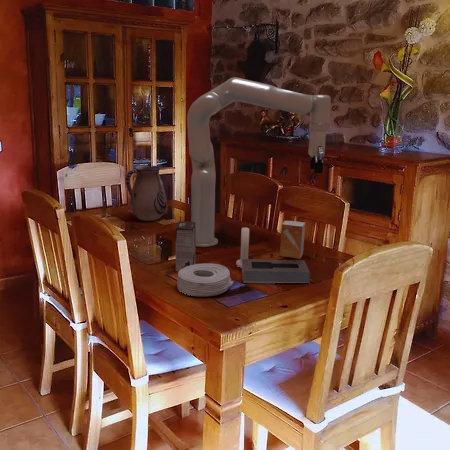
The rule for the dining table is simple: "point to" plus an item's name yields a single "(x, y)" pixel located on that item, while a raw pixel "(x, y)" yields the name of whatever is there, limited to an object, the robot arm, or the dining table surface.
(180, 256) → the coffee box
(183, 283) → the cable
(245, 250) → the peg
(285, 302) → the dining table surface
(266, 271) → the rail
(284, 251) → the small box
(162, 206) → the ceramic pitcher
